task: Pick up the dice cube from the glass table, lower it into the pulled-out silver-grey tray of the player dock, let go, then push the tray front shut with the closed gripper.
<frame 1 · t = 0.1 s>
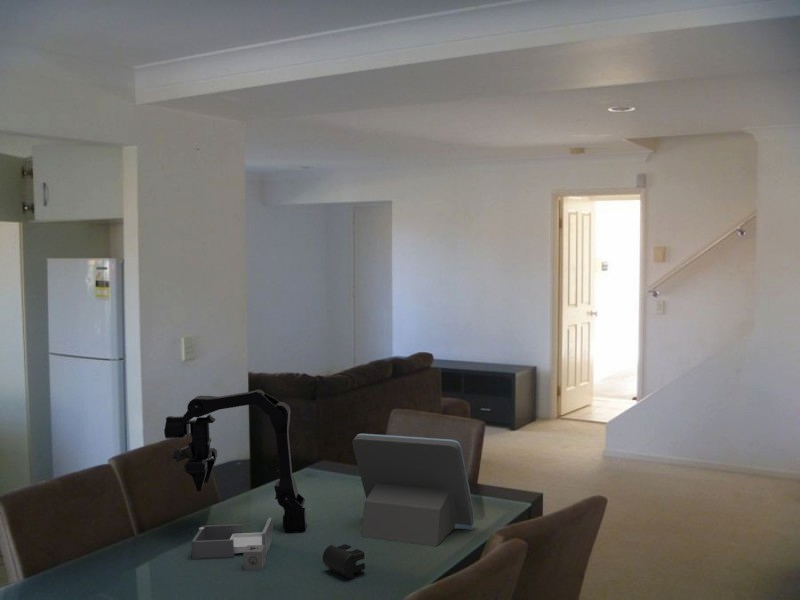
hand: (202, 486, 249), 15 cm above the table, fingers open, 9 cm apart
end cap: (344, 574, 213), on the table
tray: (249, 536, 235), point 3 cm above the table, slide at 8.0 cm
dice cube: (255, 566, 221), on the table
touchscreen device: (411, 532, 245), on the table
housing: (218, 549, 235), on the table
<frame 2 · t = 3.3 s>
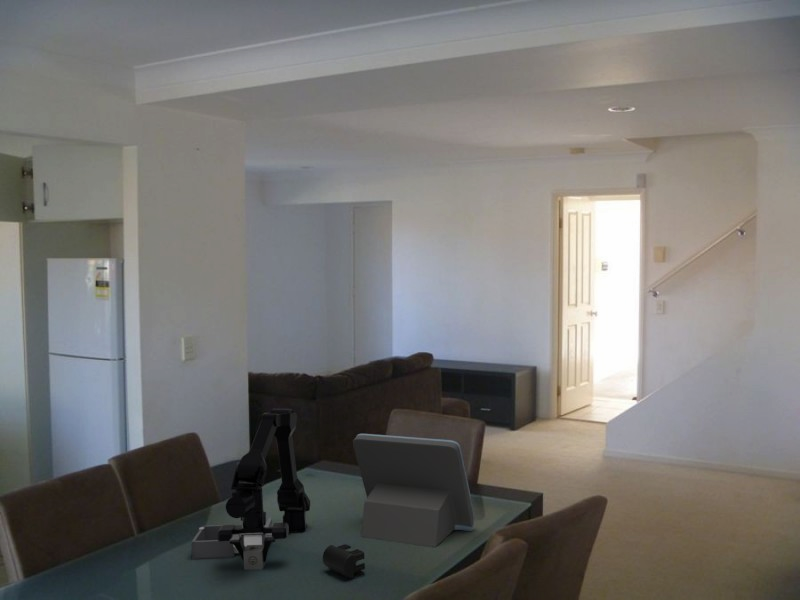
hand: (255, 562, 221), 1 cm above the table, fingers closed on dice cube, 5 cm apart
dice cube: (255, 566, 221), on the table, touching gripper
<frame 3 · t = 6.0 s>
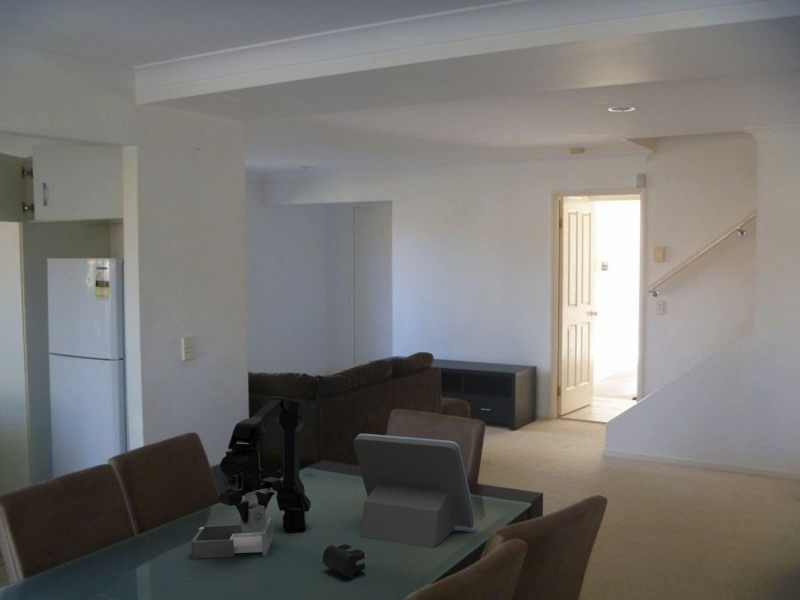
hand: (253, 520, 227), 11 cm above the table, fingers closed on dice cube, 5 cm apart
dice cube: (253, 524, 227), point 9 cm above the table, touching gripper
when the fingers open (4 cm above the table, at t = 8.3 s): dice cube drops 1 cm, resting on tray.
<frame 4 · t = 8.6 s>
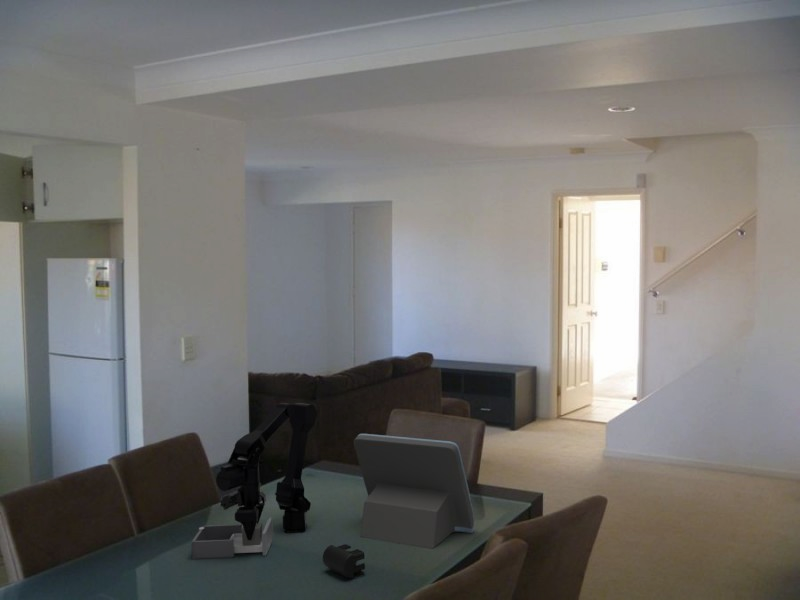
hand: (252, 534, 235), 4 cm above the table, fingers open, 8 cm apart
tray: (249, 536, 235), point 3 cm above the table, slide at 8.0 cm, touching dice cube
dice cube: (252, 543, 235), point 1 cm above the table, touching tray
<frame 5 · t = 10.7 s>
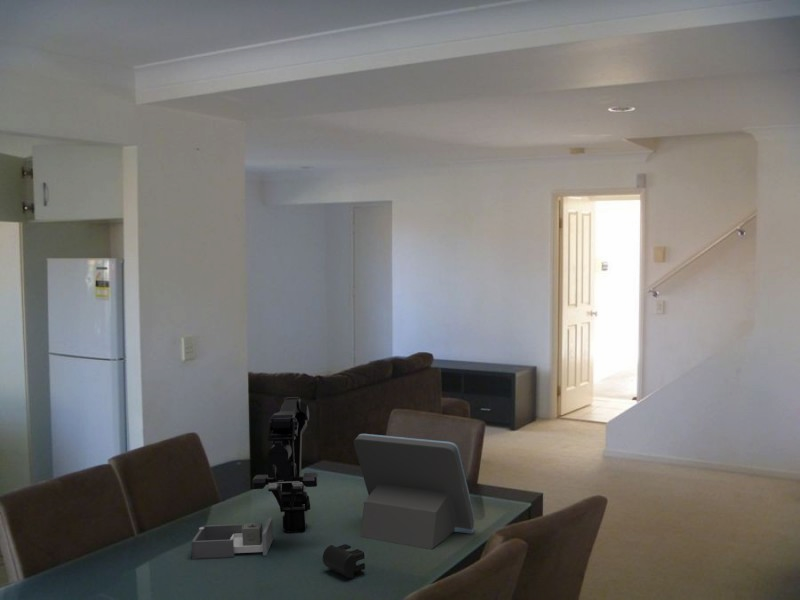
hand: (286, 509, 235), 11 cm above the table, fingers closed
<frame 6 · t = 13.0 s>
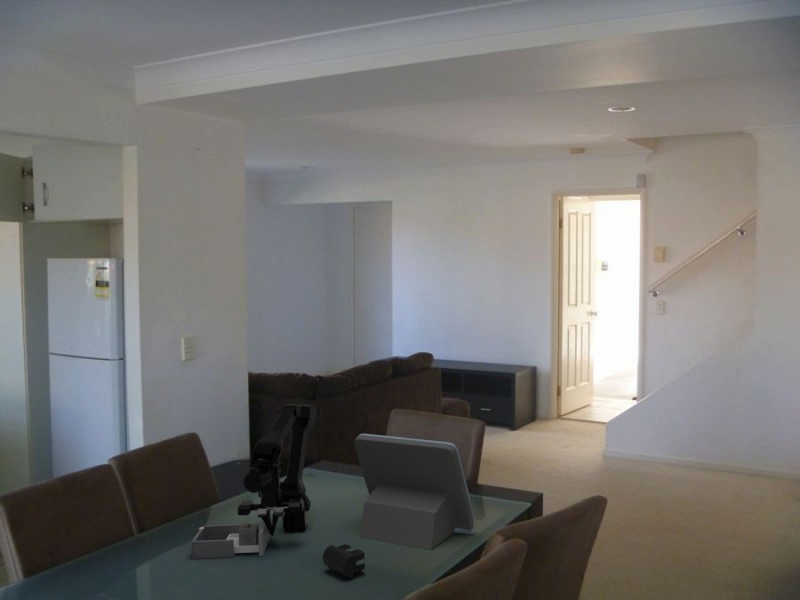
hand: (272, 535, 235), 4 cm above the table, fingers closed
tray: (245, 536, 235), point 3 cm above the table, slide at 7.0 cm, touching dice cube, gripper
dice cube: (249, 543, 235), point 1 cm above the table, touching tray
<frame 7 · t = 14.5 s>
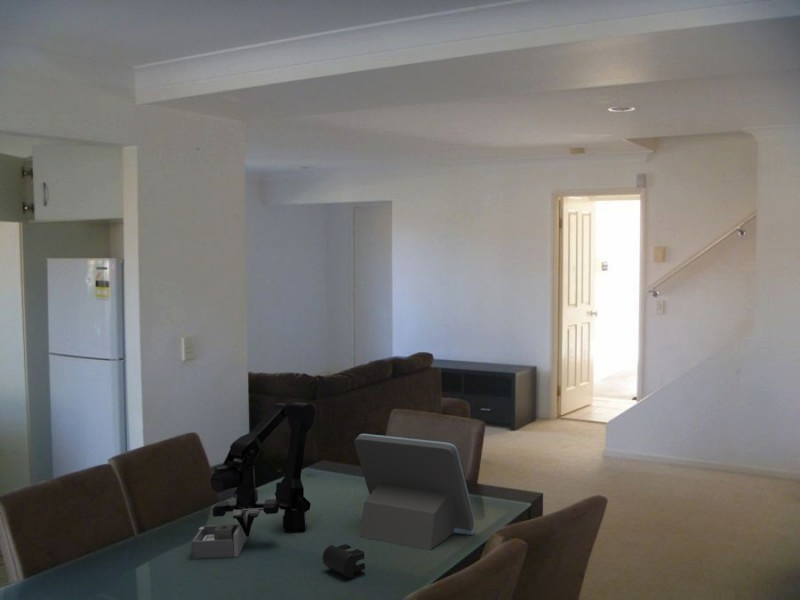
hand: (247, 536, 235), 4 cm above the table, fingers closed
tray: (221, 538, 235), point 3 cm above the table, slide at -0.1 cm, touching dice cube, gripper
dice cube: (225, 544, 235), point 1 cm above the table, touching tray
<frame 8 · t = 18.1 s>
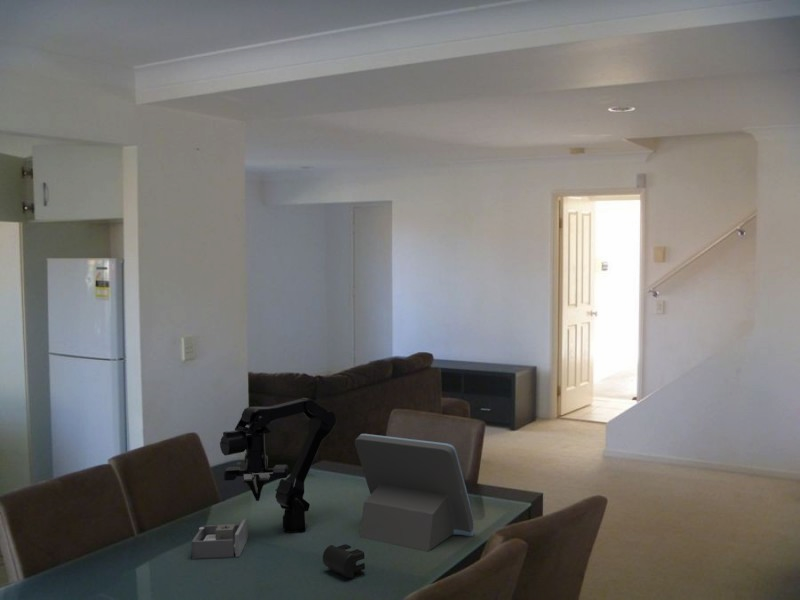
hand: (257, 500, 241), 12 cm above the table, fingers closed
tray: (222, 537, 235), point 3 cm above the table, slide at 0.3 cm, touching dice cube
at the end: tray slide at 0.3 cm; dice cube inside the target area on the housing (2.4 cm from its centre), point 1.4 cm above the housing's base; the gripper is holding nothing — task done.
